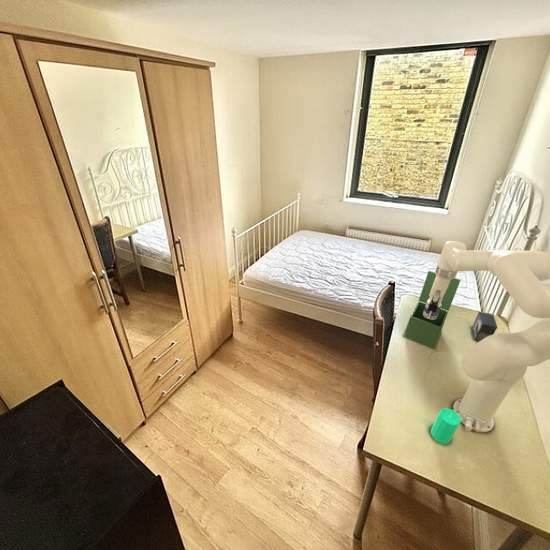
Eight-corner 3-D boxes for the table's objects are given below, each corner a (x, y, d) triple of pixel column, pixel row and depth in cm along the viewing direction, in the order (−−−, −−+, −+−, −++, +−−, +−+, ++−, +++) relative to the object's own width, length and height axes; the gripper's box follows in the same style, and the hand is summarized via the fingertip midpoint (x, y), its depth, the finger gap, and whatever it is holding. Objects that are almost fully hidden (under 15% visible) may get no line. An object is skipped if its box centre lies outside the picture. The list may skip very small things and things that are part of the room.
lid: (460, 280, 131) (460, 279, 132) (428, 271, 138) (428, 270, 139) (448, 310, 139) (448, 310, 139) (418, 300, 145) (418, 300, 146)
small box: (470, 327, 148) (478, 310, 143) (485, 330, 146) (493, 314, 141) (473, 340, 140) (481, 323, 134) (489, 344, 138) (498, 327, 132)
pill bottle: (437, 314, 129) (444, 296, 124) (435, 321, 125) (443, 303, 120) (423, 310, 132) (429, 292, 127) (421, 317, 127) (428, 298, 122)
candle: (452, 434, 99) (464, 412, 93) (447, 447, 95) (459, 425, 89) (434, 423, 103) (444, 401, 97) (428, 435, 99) (438, 413, 93)
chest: (434, 348, 134) (442, 328, 128) (403, 336, 141) (410, 316, 135) (440, 330, 145) (448, 311, 139) (412, 320, 152) (418, 301, 146)
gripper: (439, 260, 125) (427, 295, 134) (431, 277, 112) (419, 314, 122) (459, 265, 121) (445, 301, 130) (453, 283, 109) (438, 321, 118)
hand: (433, 307), depth 126 cm, fingers closed on pill bottle, 5 cm apart
